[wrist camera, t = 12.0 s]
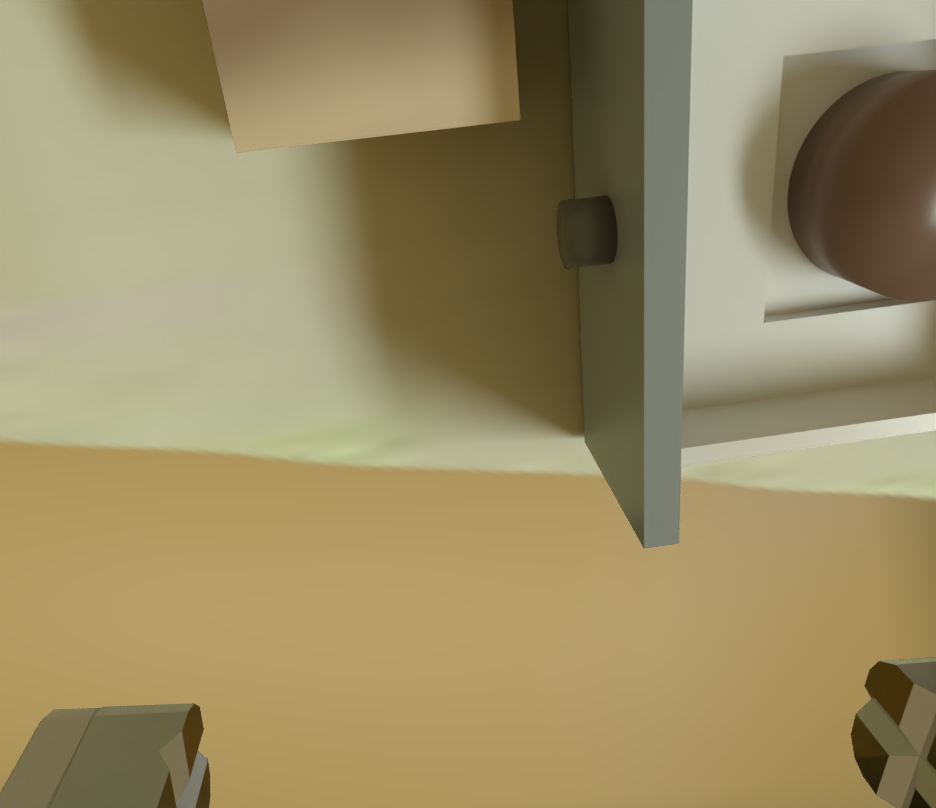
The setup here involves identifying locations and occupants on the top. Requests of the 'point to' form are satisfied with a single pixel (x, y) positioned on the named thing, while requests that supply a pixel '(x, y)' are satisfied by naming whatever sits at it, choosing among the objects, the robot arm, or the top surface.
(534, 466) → the top surface
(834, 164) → the puck
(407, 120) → the block
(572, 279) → the top surface
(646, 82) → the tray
